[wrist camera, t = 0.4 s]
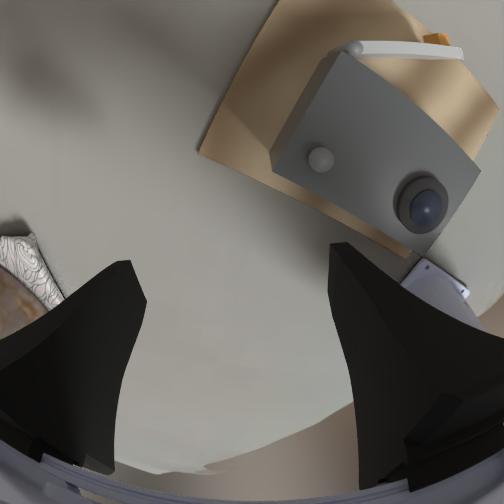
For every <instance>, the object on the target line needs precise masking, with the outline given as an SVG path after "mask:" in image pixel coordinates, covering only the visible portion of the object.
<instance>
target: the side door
mask: <svg viewBox="0 0 504 504" xmlns="http://www.w3.org/2000/svg"><path fill="white" fill-rule="evenodd" d="M423 40H424V43H418V42H403V41H358V40H351V41H349V42H346V43H344V44H342V45H340V46H338V47H336V48H334V49H332V50H330V51H329V52H328V56H330V55H332V54H334V53H337V52H339V51H343V52H345V53H347V54H348V55H350V56H351V57H353V58H355V59H370V58H407V59H427V60H437V59H464V58H463V53H462V48H458V47H452V46H450V43H449V39H448V35H446V34H440V33H436V34H430V35H424V36H423Z"/></svg>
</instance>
